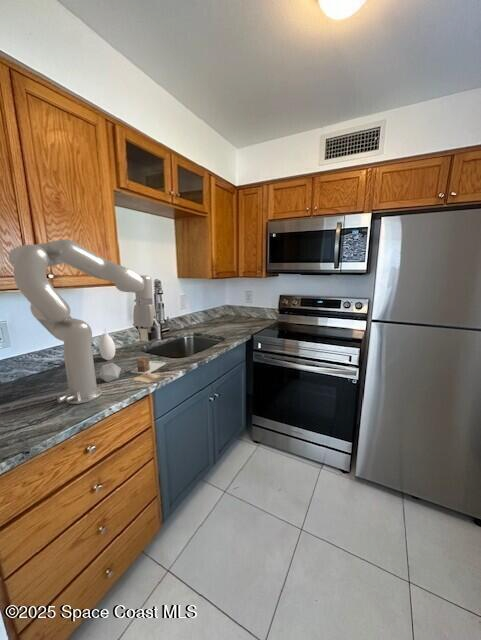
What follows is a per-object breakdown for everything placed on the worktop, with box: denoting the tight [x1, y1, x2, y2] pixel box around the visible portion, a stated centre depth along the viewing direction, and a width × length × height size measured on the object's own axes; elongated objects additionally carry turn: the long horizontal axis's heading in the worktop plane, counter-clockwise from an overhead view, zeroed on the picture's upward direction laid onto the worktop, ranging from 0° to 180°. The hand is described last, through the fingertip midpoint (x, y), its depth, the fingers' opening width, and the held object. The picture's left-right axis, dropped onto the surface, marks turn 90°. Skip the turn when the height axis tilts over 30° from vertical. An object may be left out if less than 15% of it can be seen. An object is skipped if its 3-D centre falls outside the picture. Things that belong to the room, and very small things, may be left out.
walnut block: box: [136, 356, 150, 372], centre depth 131 cm, size 4×4×6 cm
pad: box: [131, 372, 161, 384], centre depth 123 cm, size 9×9×1 cm
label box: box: [139, 327, 149, 342], centre depth 127 cm, size 4×4×6 cm
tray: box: [129, 360, 167, 375], centre depth 135 cm, size 16×10×1 cm, turn 162°
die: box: [98, 362, 122, 383], centre depth 121 cm, size 8×9×10 cm
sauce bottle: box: [98, 329, 116, 361], centre depth 148 cm, size 8×8×18 cm
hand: (146, 339), depth 128 cm, fingers closed on label box, 4 cm apart
